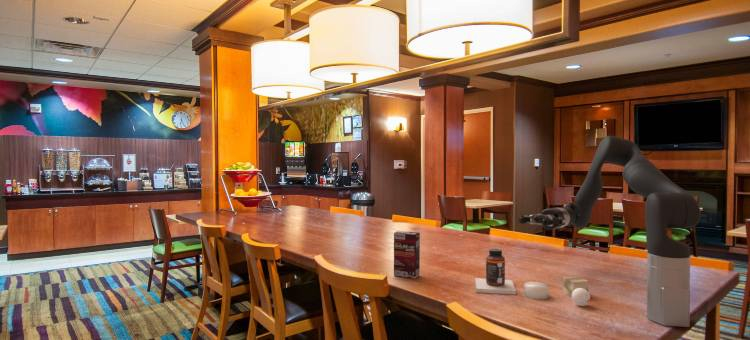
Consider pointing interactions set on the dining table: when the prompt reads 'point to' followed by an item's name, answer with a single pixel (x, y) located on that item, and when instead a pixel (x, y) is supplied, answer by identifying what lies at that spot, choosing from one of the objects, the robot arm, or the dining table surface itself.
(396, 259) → the supplement box
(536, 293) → the white rounded puck
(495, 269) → the supplement bottle
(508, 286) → the plate
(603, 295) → the dining table surface
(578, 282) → the maple block
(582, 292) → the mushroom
